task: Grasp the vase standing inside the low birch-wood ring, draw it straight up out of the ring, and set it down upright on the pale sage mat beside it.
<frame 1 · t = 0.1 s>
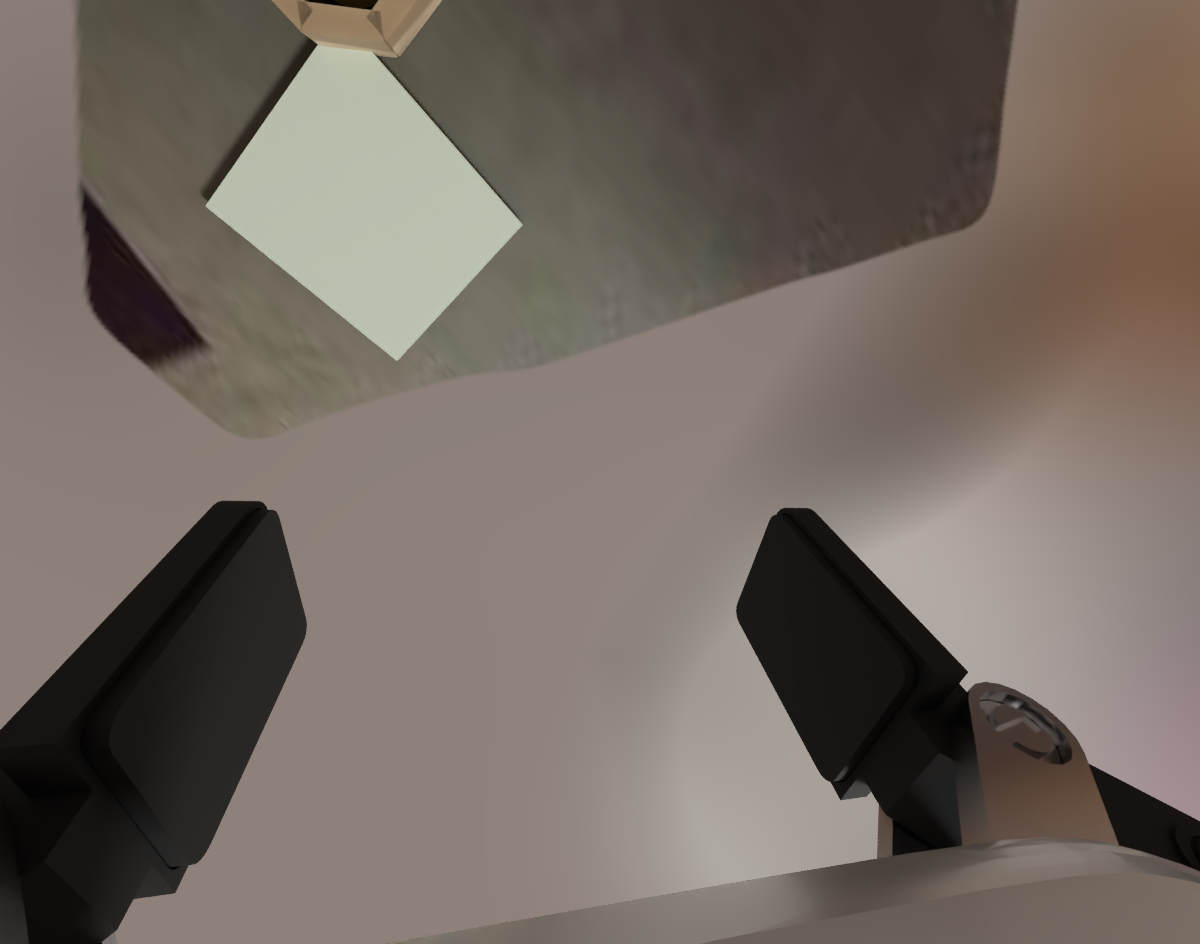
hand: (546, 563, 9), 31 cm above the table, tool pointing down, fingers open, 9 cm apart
mat: (375, 215, 31), on the table
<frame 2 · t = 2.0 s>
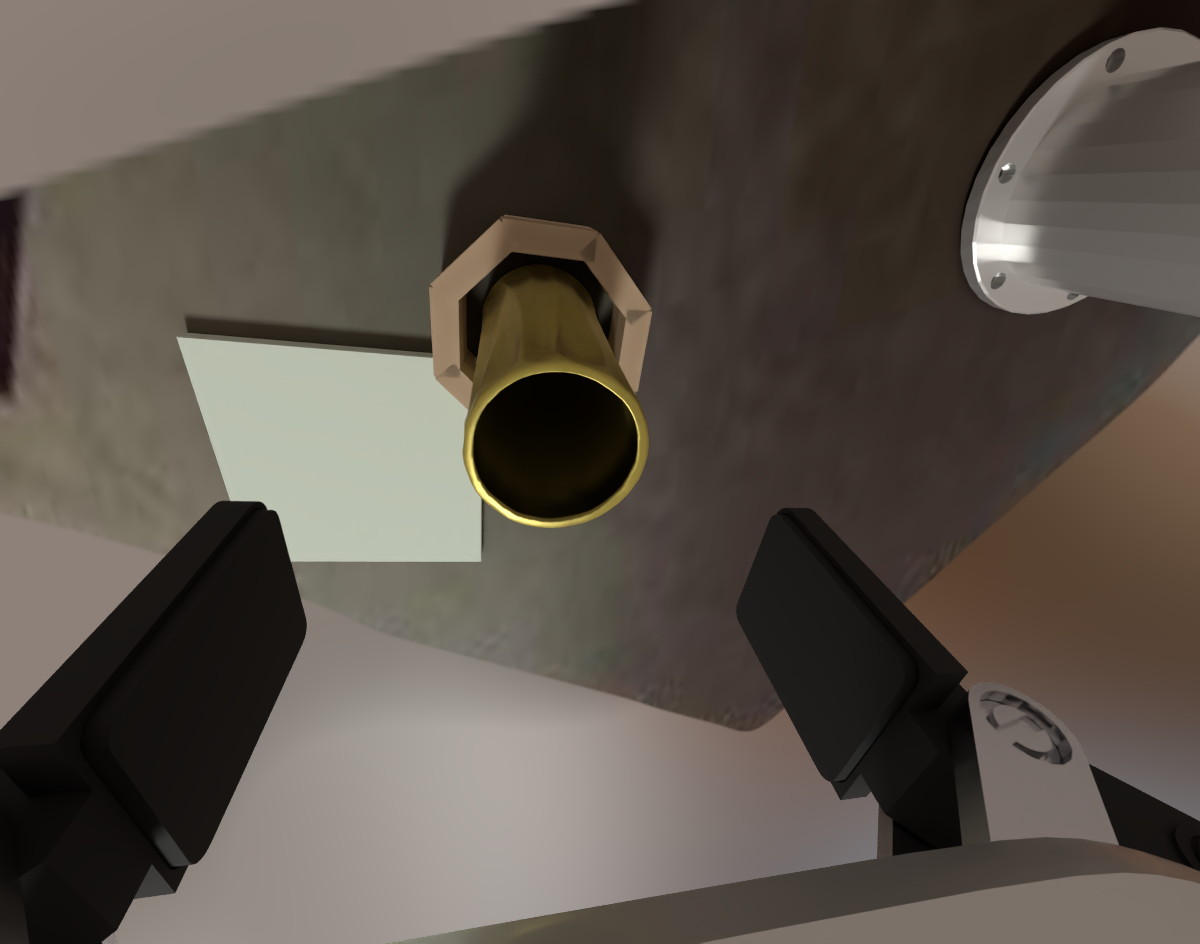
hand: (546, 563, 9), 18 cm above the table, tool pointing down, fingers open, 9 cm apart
mat: (360, 462, 27), on the table
ring: (540, 325, 25), on the table
vase: (540, 324, 25), resting in ring
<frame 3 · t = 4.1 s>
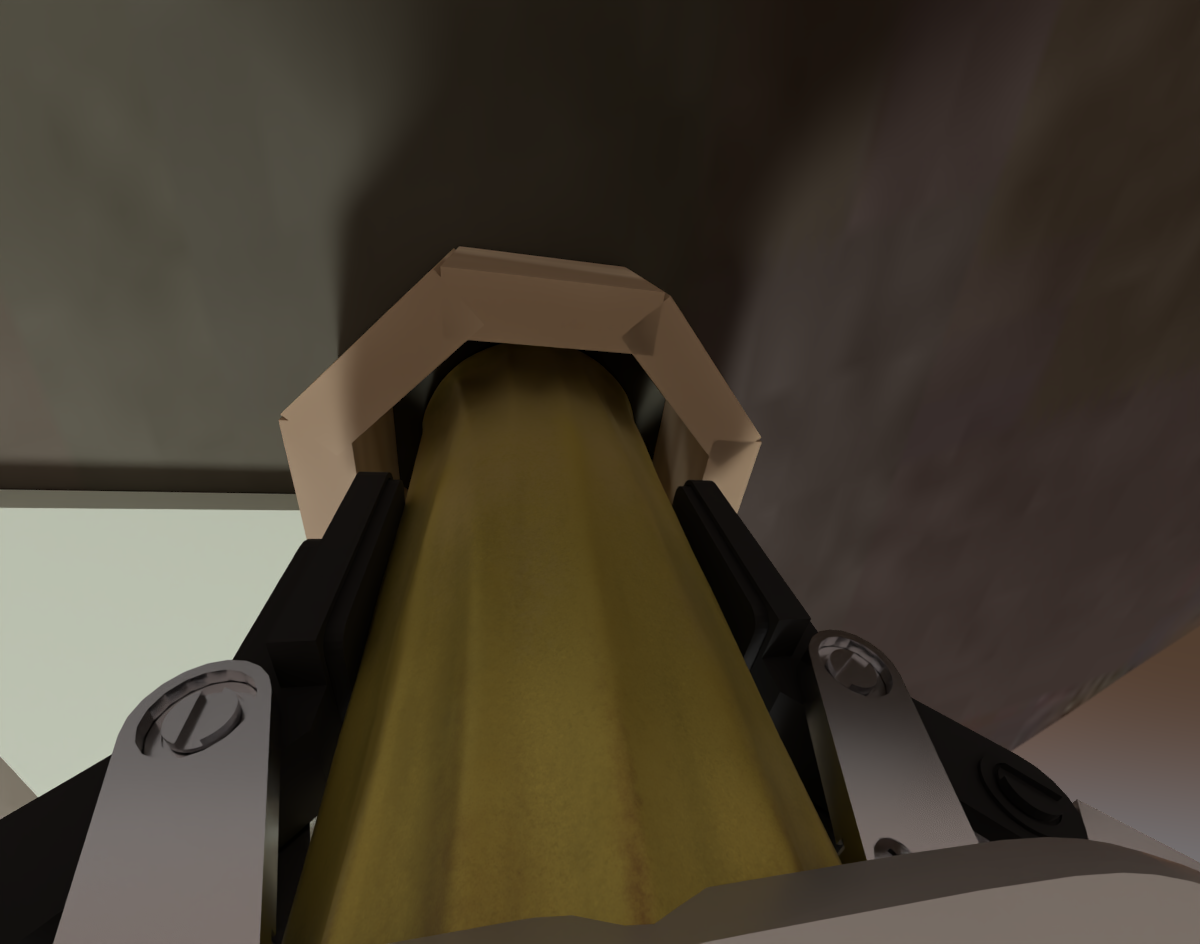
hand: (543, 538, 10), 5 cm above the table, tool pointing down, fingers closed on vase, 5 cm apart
mat: (227, 661, 16), on the table
ring: (533, 441, 14), on the table
vase: (532, 438, 14), resting in ring, touching gripper
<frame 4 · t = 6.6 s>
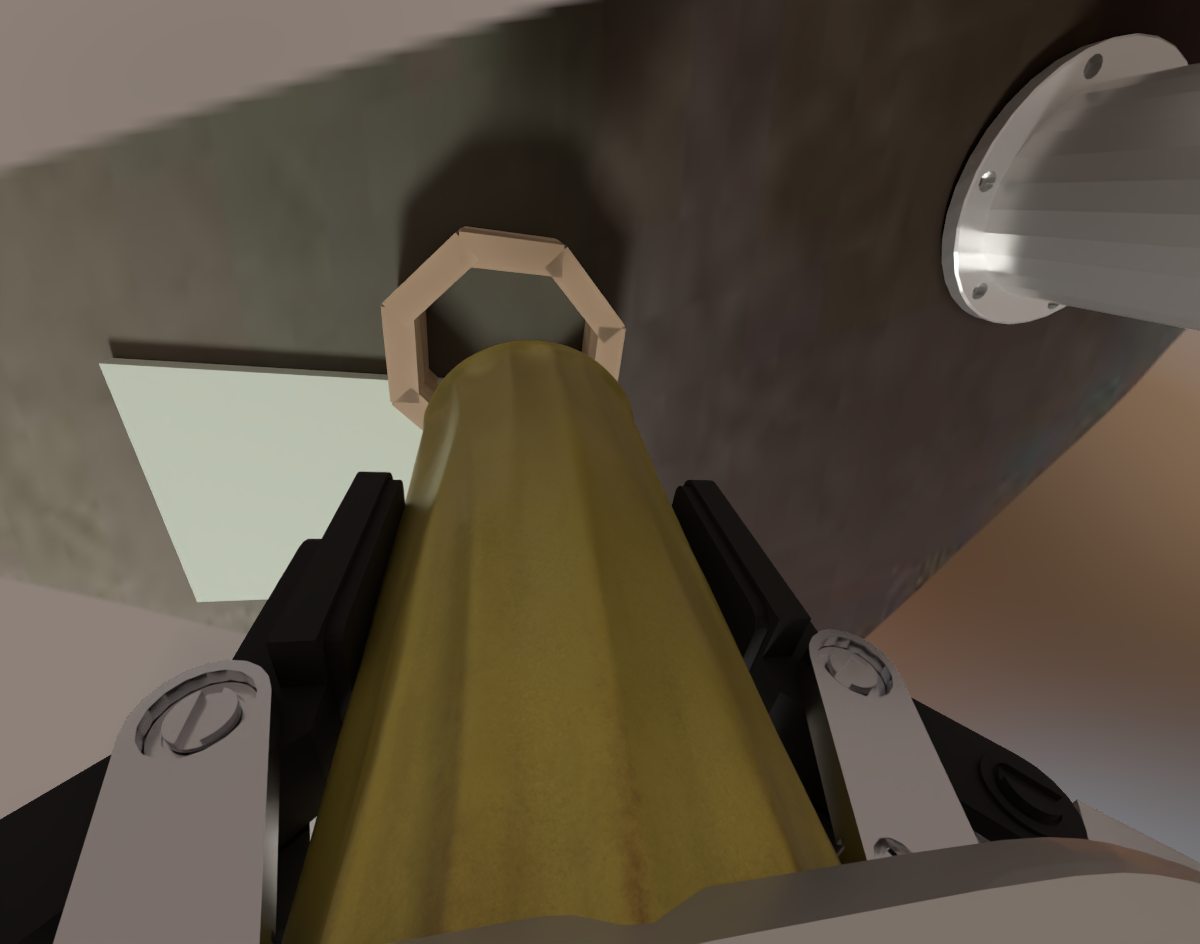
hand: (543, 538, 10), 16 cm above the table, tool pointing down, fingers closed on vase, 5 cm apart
mat: (316, 492, 25), on the table
ring: (507, 343, 23), on the table
vase: (532, 438, 14), point 11 cm above the table, touching gripper
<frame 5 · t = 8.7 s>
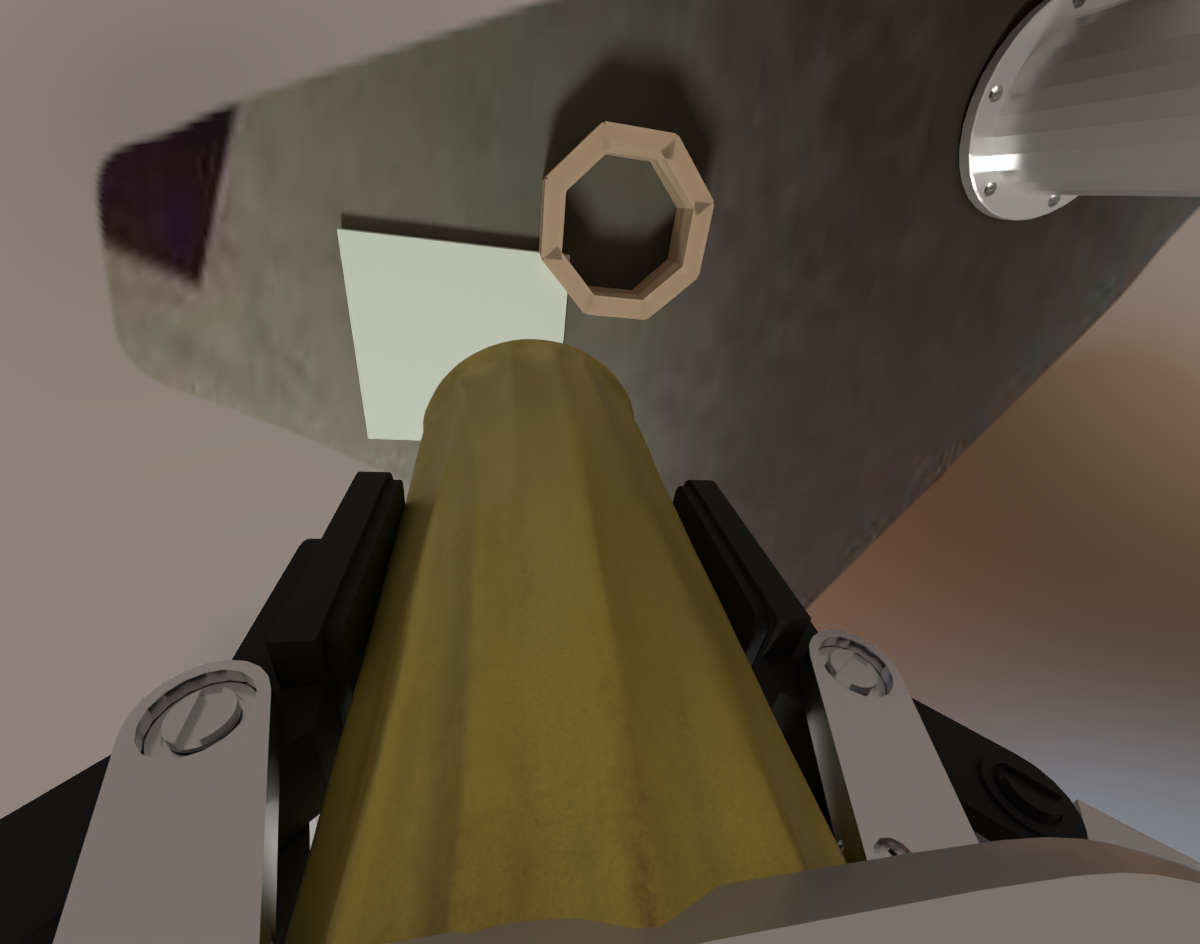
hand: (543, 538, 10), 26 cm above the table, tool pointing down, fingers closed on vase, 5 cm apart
mat: (463, 350, 33), on the table
ring: (616, 226, 30), on the table
vase: (532, 437, 14), point 21 cm above the table, touching gripper
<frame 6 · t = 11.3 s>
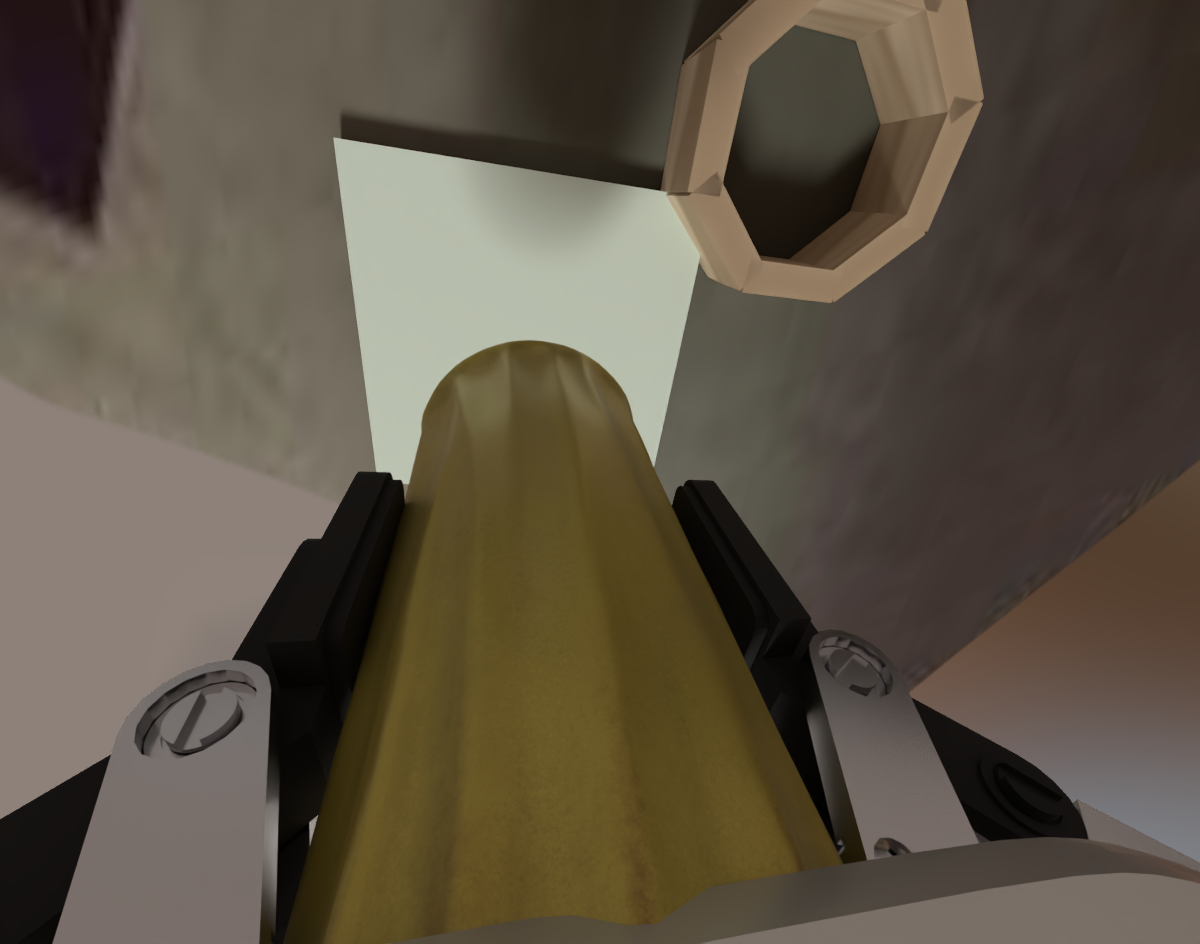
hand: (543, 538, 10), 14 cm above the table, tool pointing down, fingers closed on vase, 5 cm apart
mat: (528, 350, 21), on the table
ring: (785, 154, 19), on the table
vase: (531, 438, 14), point 9 cm above the table, touching gripper
when the fingers open (7 cm above the table, at t = 13.5 s): vase drops 1 cm, resting on mat.
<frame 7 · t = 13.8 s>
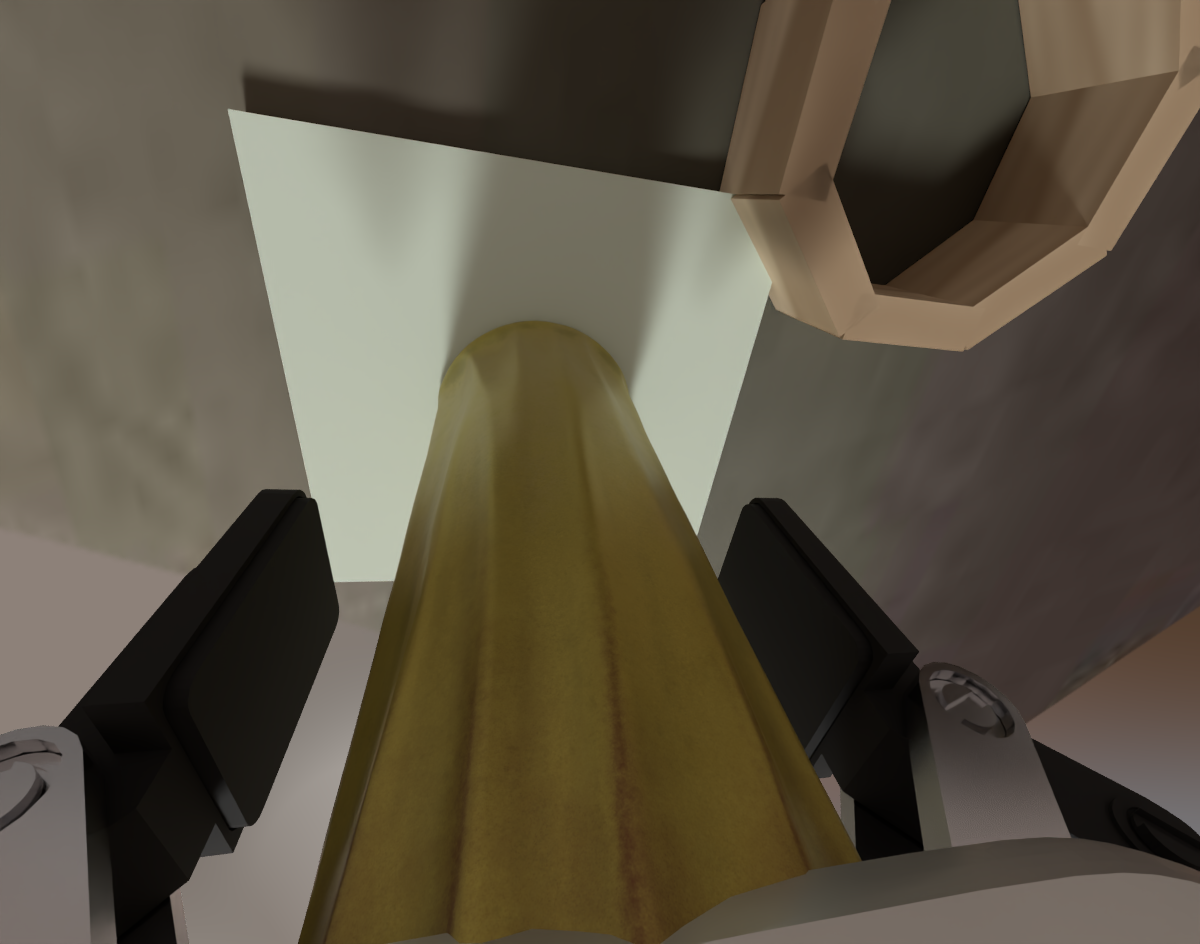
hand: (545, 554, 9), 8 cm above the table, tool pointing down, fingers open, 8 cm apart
mat: (530, 408, 16), on the table
ring: (896, 140, 13), on the table
vase: (536, 412, 15), point 1 cm above the table, touching mat
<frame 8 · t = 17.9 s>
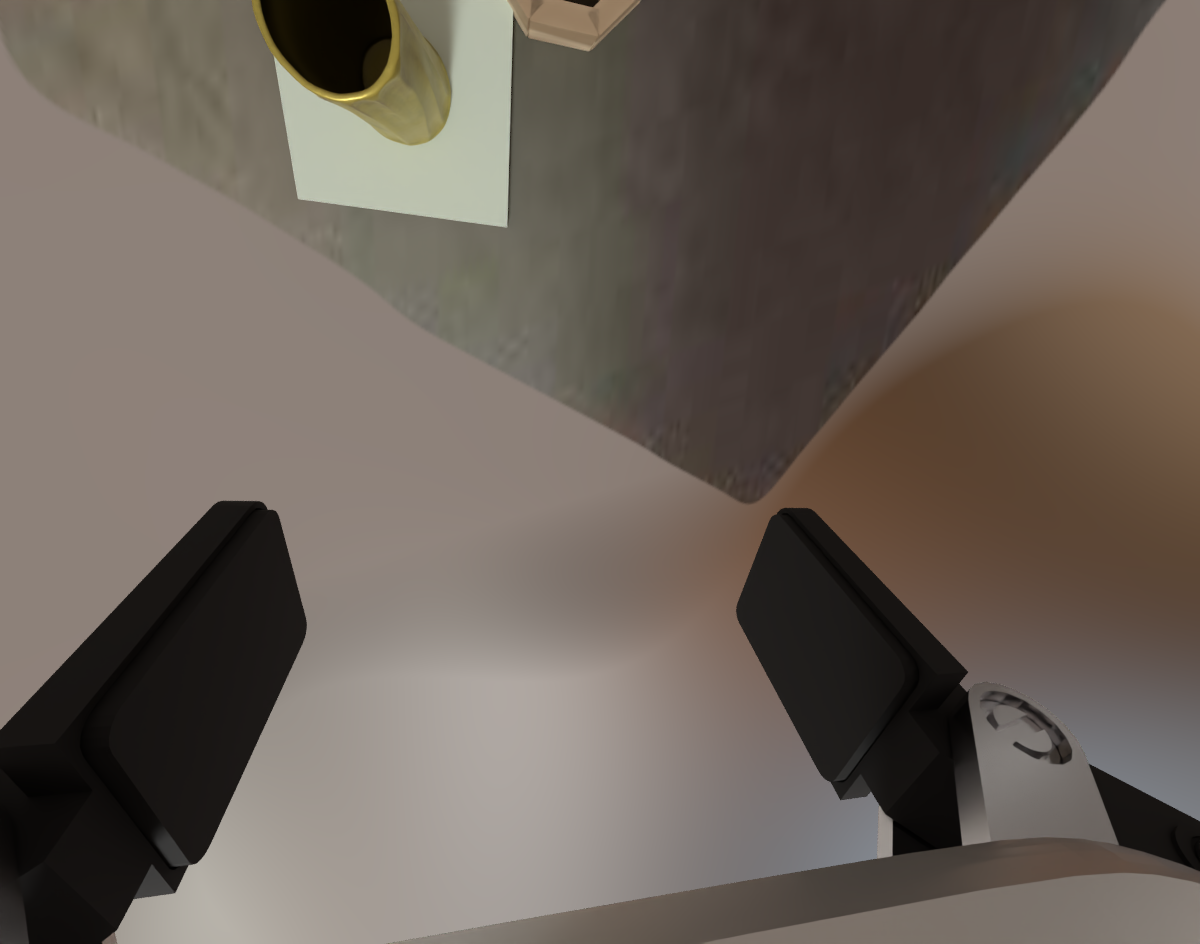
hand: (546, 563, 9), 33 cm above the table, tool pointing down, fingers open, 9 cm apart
mat: (401, 91, 30), on the table
vase: (402, 87, 30), point 1 cm above the table, touching mat
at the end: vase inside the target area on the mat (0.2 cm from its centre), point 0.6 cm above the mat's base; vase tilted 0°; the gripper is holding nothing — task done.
